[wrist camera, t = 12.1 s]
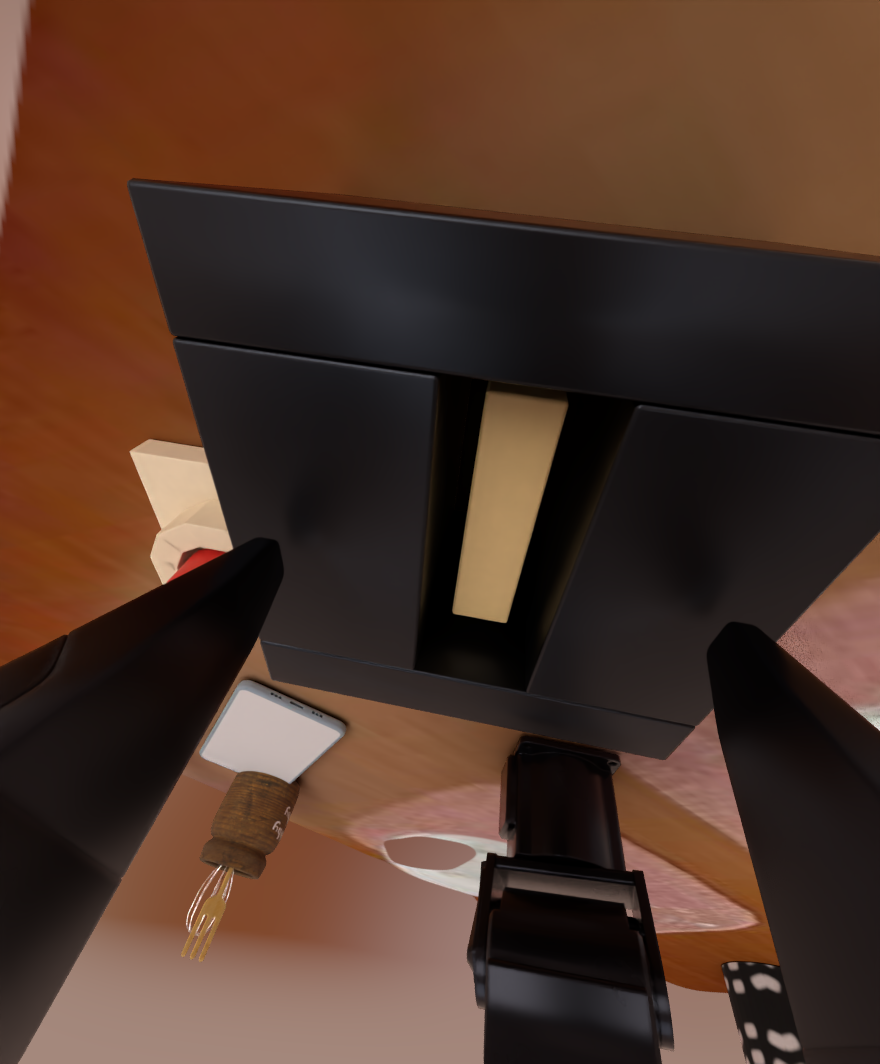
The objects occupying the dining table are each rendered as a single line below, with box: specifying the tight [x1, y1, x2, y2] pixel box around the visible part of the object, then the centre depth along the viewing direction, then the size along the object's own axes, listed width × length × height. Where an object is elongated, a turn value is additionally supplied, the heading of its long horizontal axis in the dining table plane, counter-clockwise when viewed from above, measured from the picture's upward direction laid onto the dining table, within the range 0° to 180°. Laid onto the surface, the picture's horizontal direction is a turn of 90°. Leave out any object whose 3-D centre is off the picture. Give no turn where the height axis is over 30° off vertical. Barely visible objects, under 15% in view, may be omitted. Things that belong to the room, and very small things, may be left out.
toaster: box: [127, 178, 880, 760], centre depth 12 cm, size 12×12×8 cm
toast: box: [452, 381, 569, 623], centre depth 13 cm, size 6×2×6 cm, turn 175°
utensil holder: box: [181, 771, 300, 962], centre depth 35 cm, size 6×6×12 cm
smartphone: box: [200, 680, 346, 784], centre depth 34 cm, size 8×1×15 cm
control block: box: [130, 439, 233, 584], centre depth 20 cm, size 10×8×3 cm
